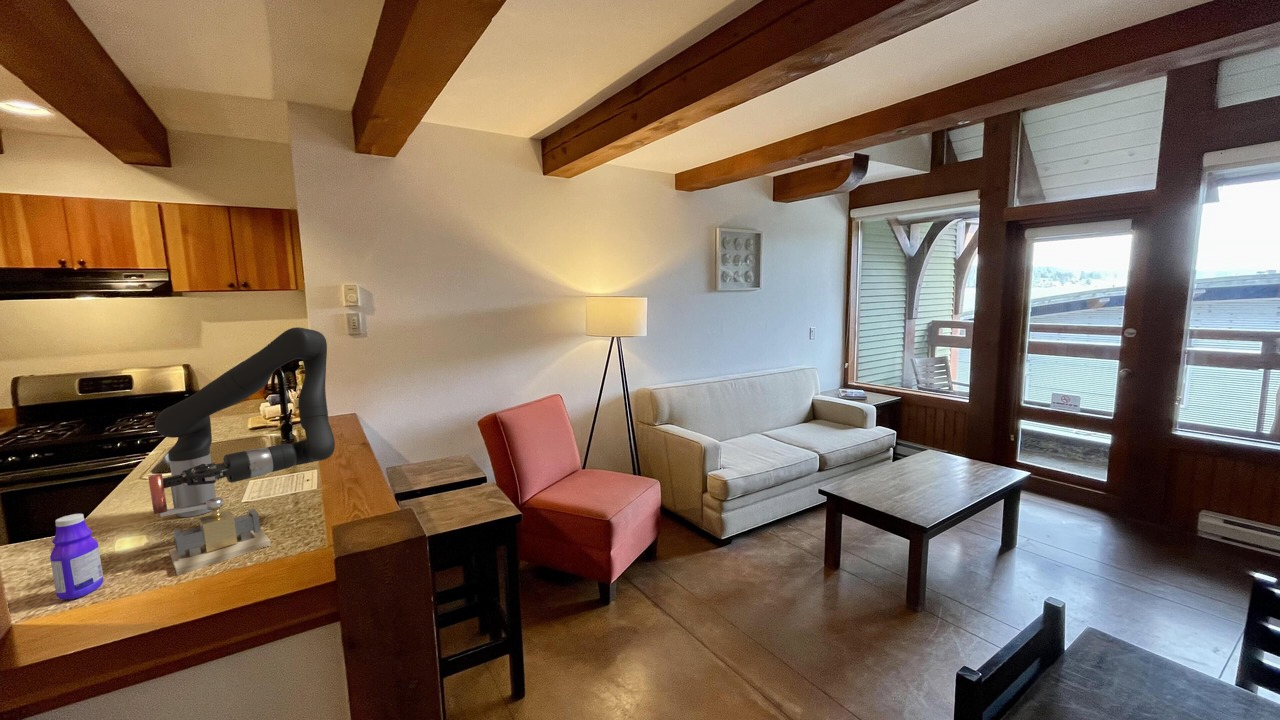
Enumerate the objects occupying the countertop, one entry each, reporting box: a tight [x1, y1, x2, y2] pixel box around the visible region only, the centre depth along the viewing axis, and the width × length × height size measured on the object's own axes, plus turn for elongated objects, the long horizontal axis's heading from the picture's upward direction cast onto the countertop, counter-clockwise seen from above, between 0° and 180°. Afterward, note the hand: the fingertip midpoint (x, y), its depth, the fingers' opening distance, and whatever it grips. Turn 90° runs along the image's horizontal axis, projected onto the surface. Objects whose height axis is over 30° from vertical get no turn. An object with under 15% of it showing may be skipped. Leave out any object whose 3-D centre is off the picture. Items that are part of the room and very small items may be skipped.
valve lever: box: [148, 473, 224, 518], centre depth 123 cm, size 3×13×10 cm, turn 123°
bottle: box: [49, 513, 104, 600], centre depth 109 cm, size 7×6×17 cm
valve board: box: [168, 528, 272, 576], centre depth 127 cm, size 18×14×2 cm
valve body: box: [172, 507, 262, 557], centre depth 127 cm, size 16×6×10 cm, turn 138°
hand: (160, 483), depth 121 cm, fingers closed
